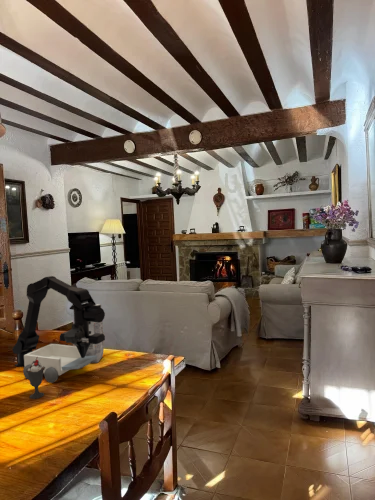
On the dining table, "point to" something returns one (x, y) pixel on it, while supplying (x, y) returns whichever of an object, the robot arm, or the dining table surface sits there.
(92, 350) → the juice carton
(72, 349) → the cart
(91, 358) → the panel
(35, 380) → the sundae
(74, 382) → the dining table surface
